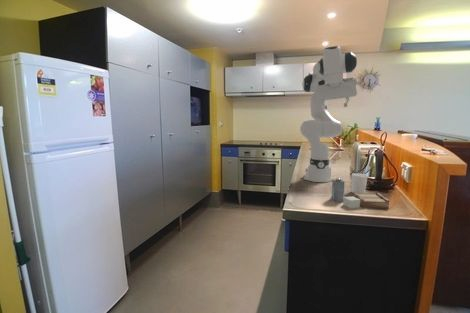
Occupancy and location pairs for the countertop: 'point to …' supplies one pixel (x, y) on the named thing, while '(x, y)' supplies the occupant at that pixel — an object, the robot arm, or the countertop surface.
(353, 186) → the white cup
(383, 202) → the stand
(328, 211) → the countertop surface
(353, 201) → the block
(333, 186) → the housing
